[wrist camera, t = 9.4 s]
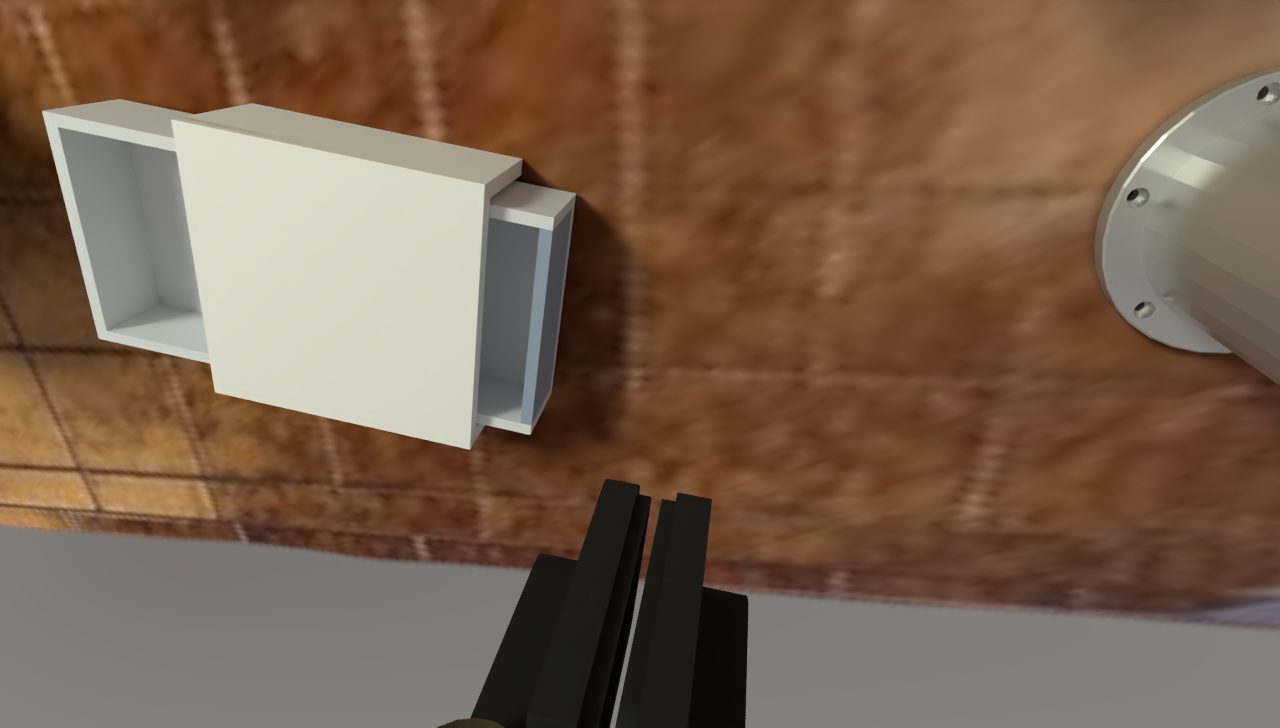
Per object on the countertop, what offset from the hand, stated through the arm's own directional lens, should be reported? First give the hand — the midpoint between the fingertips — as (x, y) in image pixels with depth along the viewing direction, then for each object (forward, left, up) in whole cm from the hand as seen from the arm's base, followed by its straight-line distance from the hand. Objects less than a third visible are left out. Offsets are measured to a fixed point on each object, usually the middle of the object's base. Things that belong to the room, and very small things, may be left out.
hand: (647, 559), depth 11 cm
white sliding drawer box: (+19, +8, -25) cm, 32 cm away
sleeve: (+17, +8, -25) cm, 31 cm away
